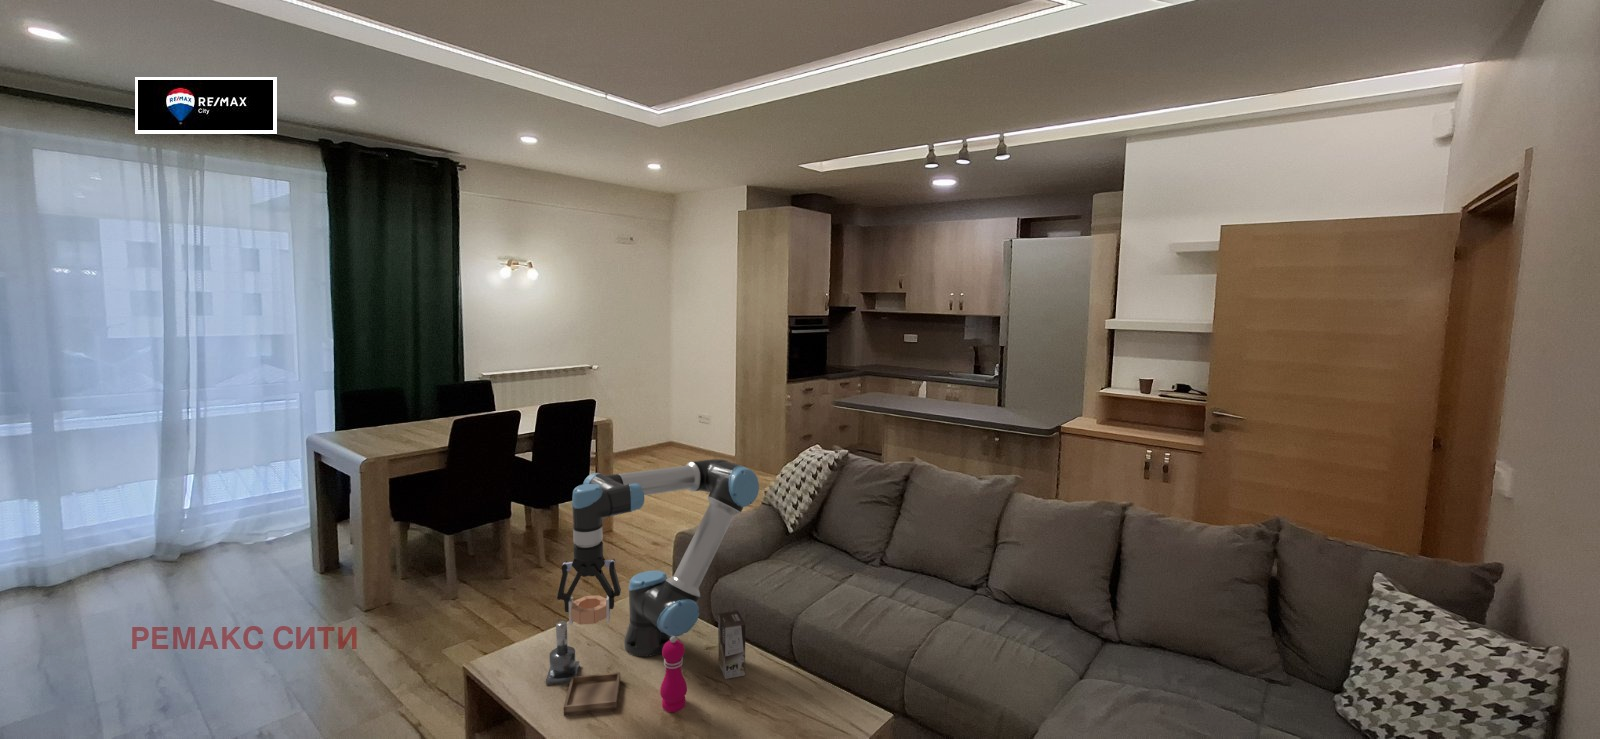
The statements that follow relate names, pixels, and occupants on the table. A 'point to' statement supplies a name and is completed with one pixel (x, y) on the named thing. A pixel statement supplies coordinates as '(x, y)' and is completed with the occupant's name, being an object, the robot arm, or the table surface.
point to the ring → (588, 610)
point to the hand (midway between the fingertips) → (590, 620)
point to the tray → (592, 694)
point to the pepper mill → (673, 676)
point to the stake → (562, 658)
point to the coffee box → (731, 644)
